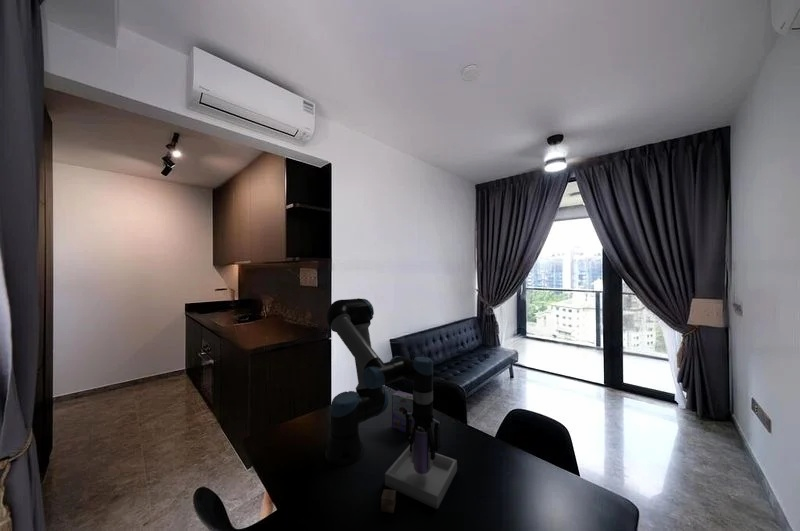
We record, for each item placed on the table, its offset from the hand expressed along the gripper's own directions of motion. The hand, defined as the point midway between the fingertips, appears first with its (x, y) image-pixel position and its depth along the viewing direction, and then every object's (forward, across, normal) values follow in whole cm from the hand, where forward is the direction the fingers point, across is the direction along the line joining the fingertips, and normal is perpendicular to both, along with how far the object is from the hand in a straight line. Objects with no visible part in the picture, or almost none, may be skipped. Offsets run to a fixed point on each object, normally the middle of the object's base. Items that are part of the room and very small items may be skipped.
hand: (422, 464), depth 100 cm
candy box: (+5, -20, +25) cm, 32 cm away
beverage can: (+2, 0, 0) cm, 2 cm away
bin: (+5, 0, 0) cm, 5 cm away
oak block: (+5, -4, -17) cm, 18 cm away
